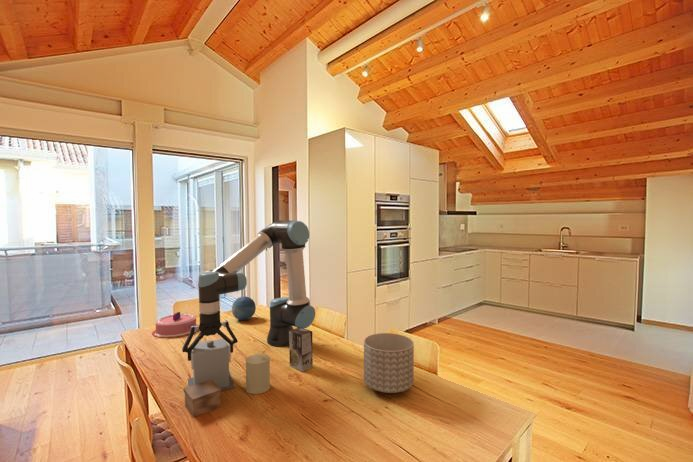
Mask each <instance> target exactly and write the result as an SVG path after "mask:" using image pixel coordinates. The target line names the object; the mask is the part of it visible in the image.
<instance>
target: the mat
mask: <svg viewBox="0 0 693 462" xmlns="http://www.w3.org/2000/svg"><path fill="white" fill-rule="evenodd" d="M232 377H233V376H232V375H231V372H230V371H229V386H227V387H223V388H221V389H222V391H227V390H232V389H235V388H236V386H235V384H234V380H233V378H232ZM187 384H188V385H187V387H189V386H192V385H194V381H193V377H190V378H187Z"/></svg>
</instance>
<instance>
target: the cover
mask: <svg viewBox="0 0 693 462" xmlns="http://www.w3.org/2000/svg"><path fill="white" fill-rule="evenodd" d="M227 344H228V342H227V341H225V340H224V339H223V338H220V339H214V340H208V341H207V340H206V341H199V342H198V344H197V345H196V346H195V348H194V349H193V361H194V369H193V371H192V372H193V373H192V376H193V377H192V378H193V381H194V385H196V384H199V383H202V382H205V381H208V380H212V381H213V382H214V383H216V384H217V385H218V386H219V387H220V388H223V387H227V386H229V372H230V362H229V348H228V345H227Z"/></svg>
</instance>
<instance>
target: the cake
mask: <svg viewBox="0 0 693 462" xmlns="http://www.w3.org/2000/svg"><path fill="white" fill-rule="evenodd" d="M192 325H194V326H199V324H197V317H196V316H195V315H193V314H190V313H181V312H180V311H177V312H175V313H174V314H170V315H167V316H166V315H165V316H163V317H160V318H159V319H158V320H156V322H155V330H153V331H152V333H151V335H153V337H154V338H157V337H158V338H157V339H171V338H173V339H174V338H180V337H185V336H189V334H190V331H191V326H192ZM198 331H200V330H199V329H197V331H196V332H198Z"/></svg>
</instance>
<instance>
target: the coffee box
mask: <svg viewBox="0 0 693 462" xmlns="http://www.w3.org/2000/svg"><path fill="white" fill-rule="evenodd" d="M288 347H289V367H291V368H293V369H295V370H297V371H300V372H305V371H307V370H311V369H312V368H313V367H314V365H313V358H314V357H313V331H312V330H310V329H308V328H301V327H299V328H297V327H295V328H293V330H290V331H289V345H288Z"/></svg>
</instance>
